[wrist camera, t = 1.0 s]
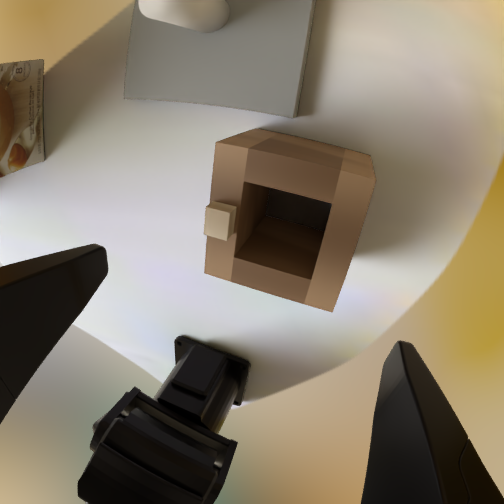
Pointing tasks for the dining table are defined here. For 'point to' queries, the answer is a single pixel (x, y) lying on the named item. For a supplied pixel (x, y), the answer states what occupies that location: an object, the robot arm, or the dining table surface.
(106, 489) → the robot arm
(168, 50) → the grey square slab
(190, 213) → the dining table surface
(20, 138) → the coffee box
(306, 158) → the open wooden cubby
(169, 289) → the dining table surface
